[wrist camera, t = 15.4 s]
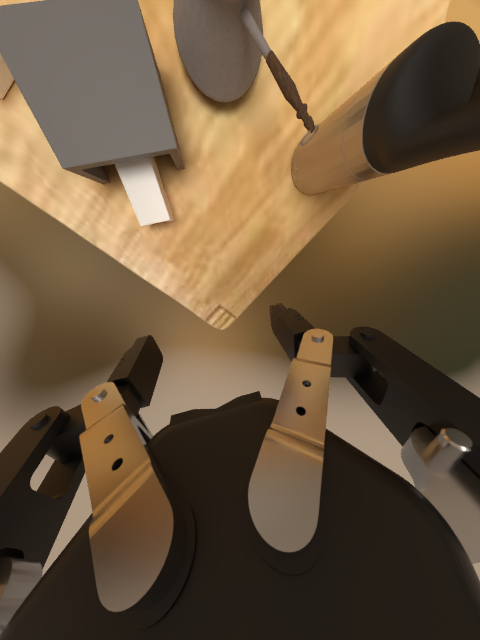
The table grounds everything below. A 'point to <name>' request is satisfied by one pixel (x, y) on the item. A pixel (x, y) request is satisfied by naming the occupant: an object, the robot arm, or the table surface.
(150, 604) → the robot arm
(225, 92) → the coffee pot
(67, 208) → the table surface
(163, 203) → the long white plank
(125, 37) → the shelf
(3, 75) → the medicine bottle
